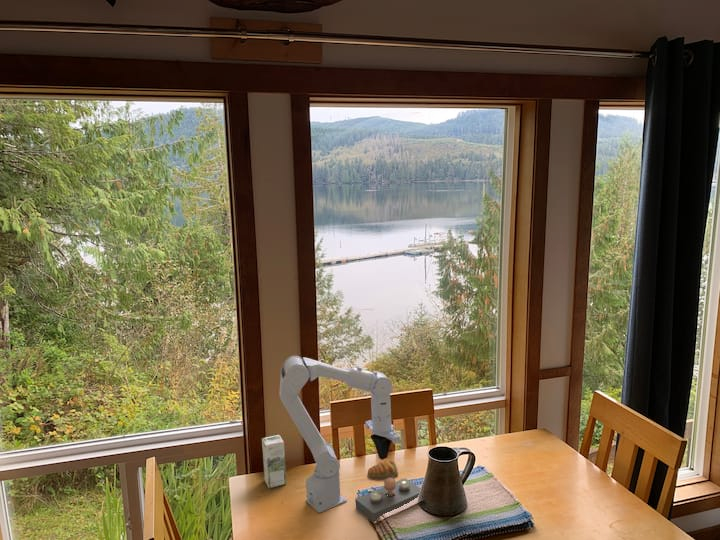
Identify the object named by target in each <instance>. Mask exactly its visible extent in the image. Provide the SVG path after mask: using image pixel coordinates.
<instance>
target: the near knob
mask: <svg viewBox="0 0 720 540" xmlns="http://www.w3.org/2000/svg"><path fill="white" fill-rule="evenodd" d="M369 493H370V501H371V502H372V503H374V504H377V503H380V502H381V501H382V493H381V492H380V491H376V490H372V491H370V492H369Z"/></svg>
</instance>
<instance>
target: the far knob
mask: <svg viewBox="0 0 720 540" xmlns="http://www.w3.org/2000/svg"><path fill="white" fill-rule="evenodd" d="M397 481H398V488H399V490H400V491H403V492H404V491H408V490H409V489H410V487H409V481H410V480H409V479H408V478H405V479H404V478H402V479H401V478H400V479H399V480H397Z"/></svg>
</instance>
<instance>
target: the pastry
mask: <svg viewBox="0 0 720 540" xmlns="http://www.w3.org/2000/svg"><path fill="white" fill-rule="evenodd" d="M398 475H399V469H398V467H397V465H396V462H395V461H394V460H392V459H390V460H388V461H386V460H385V461H381V462H378V463H377V464H375V465H373V466H371V467H370V468H369V469H368V471H367V476H368V477H369V478H371V479H374V480H375V479H381V480H383V479H384V480H385V479H386V478H394V477H397V476H398Z"/></svg>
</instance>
